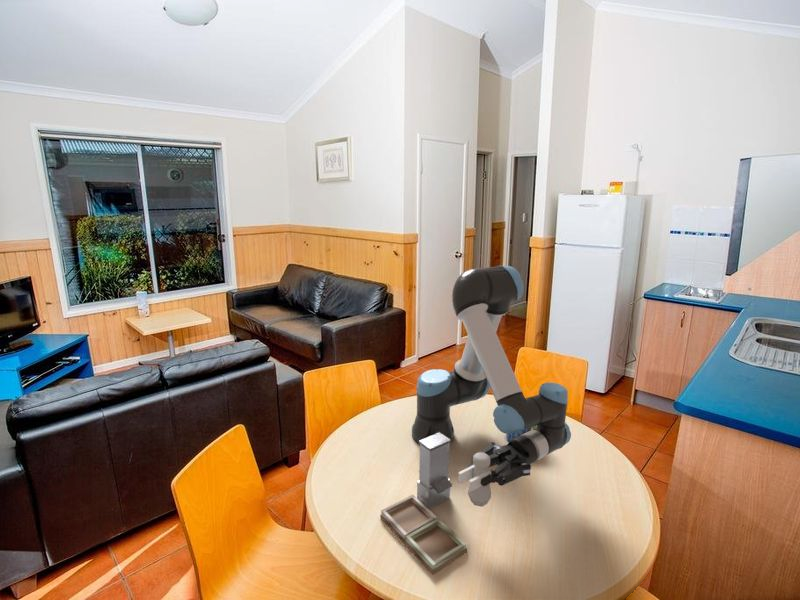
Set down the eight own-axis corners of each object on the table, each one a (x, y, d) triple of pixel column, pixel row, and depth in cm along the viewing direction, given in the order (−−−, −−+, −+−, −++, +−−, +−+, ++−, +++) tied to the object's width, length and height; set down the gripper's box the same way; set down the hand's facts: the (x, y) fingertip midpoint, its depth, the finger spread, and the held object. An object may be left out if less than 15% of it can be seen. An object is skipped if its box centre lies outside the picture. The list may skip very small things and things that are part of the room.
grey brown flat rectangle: (380, 517, 118) (380, 510, 118) (412, 501, 125) (412, 494, 124) (432, 574, 101) (432, 566, 101) (467, 552, 107) (467, 544, 107)
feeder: (417, 499, 125) (417, 440, 121) (438, 488, 130) (439, 431, 125) (433, 514, 120) (435, 454, 115) (455, 502, 124) (458, 443, 119)
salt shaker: (490, 511, 107) (493, 464, 104) (466, 506, 109) (468, 461, 105) (491, 495, 113) (494, 450, 109) (468, 491, 114) (471, 447, 111)
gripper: (551, 476, 114) (488, 515, 100) (503, 447, 126) (441, 477, 113) (554, 450, 112) (490, 486, 98) (505, 423, 124) (442, 452, 111)
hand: (464, 482), depth 106 cm, fingers closed on salt shaker, 3 cm apart
